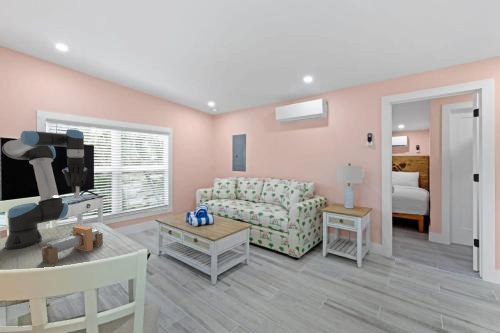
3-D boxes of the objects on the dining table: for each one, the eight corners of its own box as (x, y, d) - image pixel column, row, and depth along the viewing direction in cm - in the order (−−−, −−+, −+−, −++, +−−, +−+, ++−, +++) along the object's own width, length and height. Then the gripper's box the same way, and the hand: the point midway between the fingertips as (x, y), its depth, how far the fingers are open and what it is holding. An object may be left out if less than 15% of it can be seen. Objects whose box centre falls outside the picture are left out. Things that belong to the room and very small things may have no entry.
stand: (42, 261, 106) (41, 247, 106) (95, 242, 130) (94, 231, 129) (50, 264, 104) (50, 250, 103) (102, 244, 127) (102, 232, 127)
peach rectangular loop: (73, 247, 121) (72, 226, 120) (79, 245, 124) (78, 225, 123) (87, 251, 117) (86, 229, 116) (92, 249, 119) (92, 228, 119)
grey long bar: (47, 252, 107) (46, 242, 107) (93, 237, 128) (93, 229, 127) (52, 254, 105) (52, 244, 105) (98, 238, 126) (98, 230, 125)
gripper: (65, 157, 114) (66, 200, 116) (92, 157, 126) (92, 196, 127) (58, 156, 117) (59, 199, 119) (84, 156, 129) (85, 195, 131)
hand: (76, 197), depth 123 cm, fingers closed
